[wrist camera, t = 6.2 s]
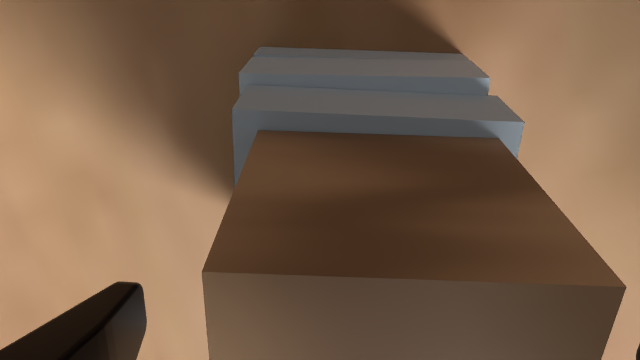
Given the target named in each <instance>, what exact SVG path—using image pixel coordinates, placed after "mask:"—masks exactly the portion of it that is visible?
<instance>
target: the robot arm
mask: <svg viewBox="0 0 640 360" xmlns="http://www.w3.org/2000/svg"><path fill="white" fill-rule="evenodd" d="M146 324H147V319H146V310H145V302H144V293H143V288H142V286H141V285H140V284H139V283H136V282H116V283H114V284H112V285H110V286H109V287H107V288H105V289H104V290H102V291H100V292H99V293H97V294H95V295H93V296H92V297H90V298H88V299H87V300H85V301H83V302H81V303H80V304H78V305H76V306H75V307H73V308H71V309H69V310H68V311H66V312H64V313H63V314H61V315H59V316H58V317H56V318H54V319H52V320H51V321H49V322H47V323H46V324H44V325H42V326H40V327H39V328H37V329H35V330H34V331H32V332H30V333H28V334H27V335H25V336H23V337H22V338H20V339H18V340H17V341H15V342H13V343H11V344H10V345H8V346H6V347H5V348H3V349H1V350H0V360H136V359H137V356H138V353H139V350H140V347H141V344H142V341H143V338H144V335H145V331H146ZM636 360H640V344H639V347H638V349H637V353H636Z"/></svg>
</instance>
